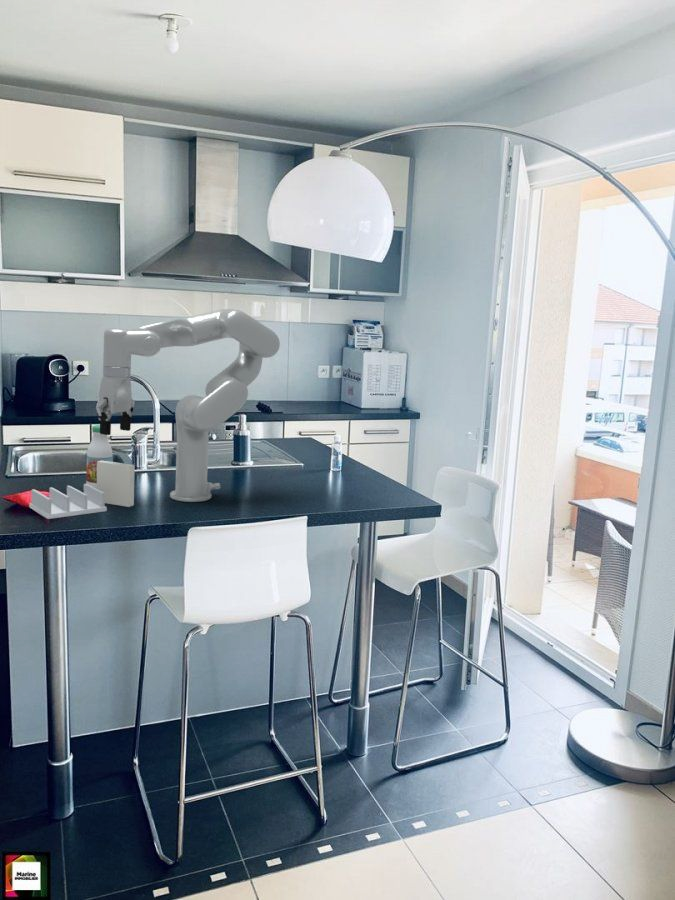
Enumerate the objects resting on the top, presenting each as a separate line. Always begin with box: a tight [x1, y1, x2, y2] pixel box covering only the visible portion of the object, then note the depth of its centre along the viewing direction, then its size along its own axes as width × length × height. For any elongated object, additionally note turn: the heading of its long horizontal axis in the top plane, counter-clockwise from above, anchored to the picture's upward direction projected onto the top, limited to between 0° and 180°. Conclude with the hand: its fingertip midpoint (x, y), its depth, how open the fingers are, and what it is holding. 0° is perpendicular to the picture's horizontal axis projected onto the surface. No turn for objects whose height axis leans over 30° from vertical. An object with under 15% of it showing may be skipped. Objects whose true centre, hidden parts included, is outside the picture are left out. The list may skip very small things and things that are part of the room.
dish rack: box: [28, 483, 108, 520], centre depth 208 cm, size 17×13×5 cm
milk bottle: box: [85, 424, 114, 489], centre depth 230 cm, size 8×8×20 cm
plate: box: [97, 460, 136, 508], centre depth 217 cm, size 2×11×12 cm, turn 72°
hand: (115, 432), depth 214 cm, fingers open, 9 cm apart
